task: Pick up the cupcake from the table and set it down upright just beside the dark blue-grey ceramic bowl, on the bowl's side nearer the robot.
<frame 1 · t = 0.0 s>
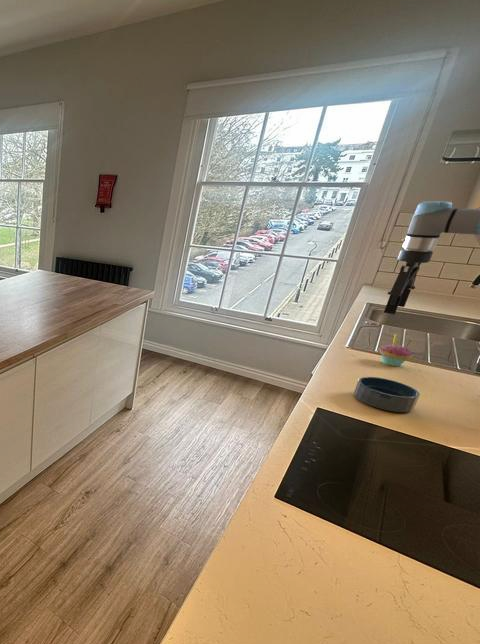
hand: (394, 309, 142), 21 cm above the worktop, tool pointing down, fingers open, 13 cm apart
cupcake: (391, 364, 148), on the worktop
bowl: (381, 402, 123), on the worktop
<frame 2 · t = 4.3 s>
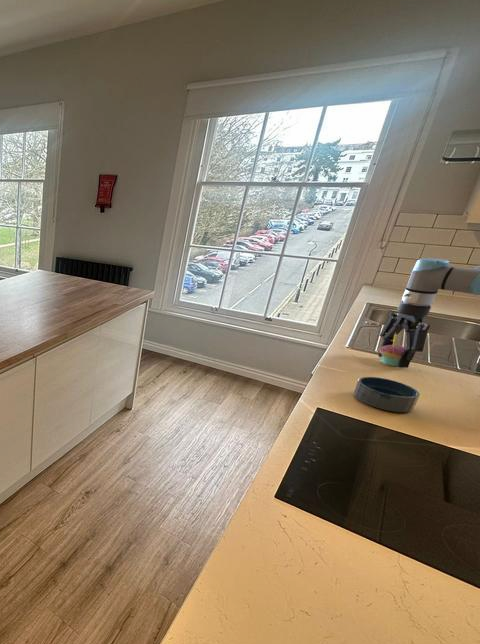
hand: (392, 361, 147), 1 cm above the worktop, tool pointing down, fingers closed on cupcake, 8 cm apart
cupcake: (391, 364, 148), on the worktop, touching gripper
when the fingers open (1 cm above the worktop, at t = 12.4 s): cupcake stays where it is, on the worktop.
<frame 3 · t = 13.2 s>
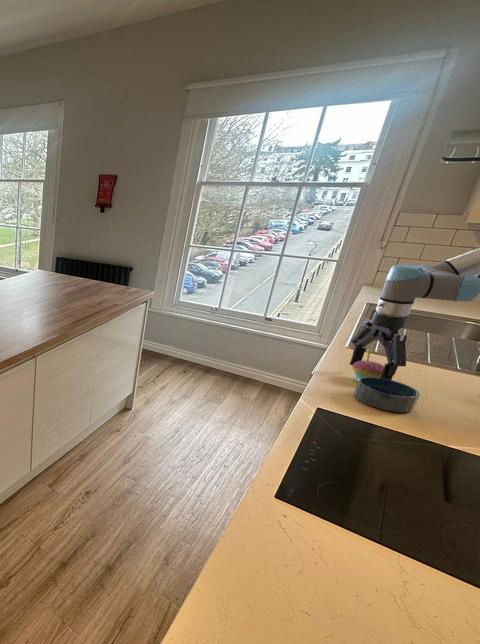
hand: (368, 373, 135), 3 cm above the worktop, tool pointing down, fingers open, 13 cm apart
cupcake: (364, 381, 136), on the worktop
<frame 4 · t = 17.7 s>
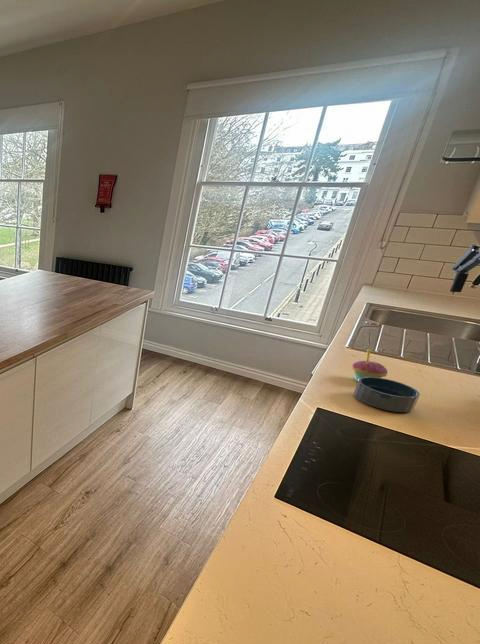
hand: (473, 297, 134), 27 cm above the worktop, tool pointing down, fingers open, 13 cm apart
nothing on the worktop moved.
at the end: cupcake inside the target area on the worktop beside the bowl (0.1 cm from its centre), on the worktop; cupcake tilted 0°; the gripper is holding nothing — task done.
